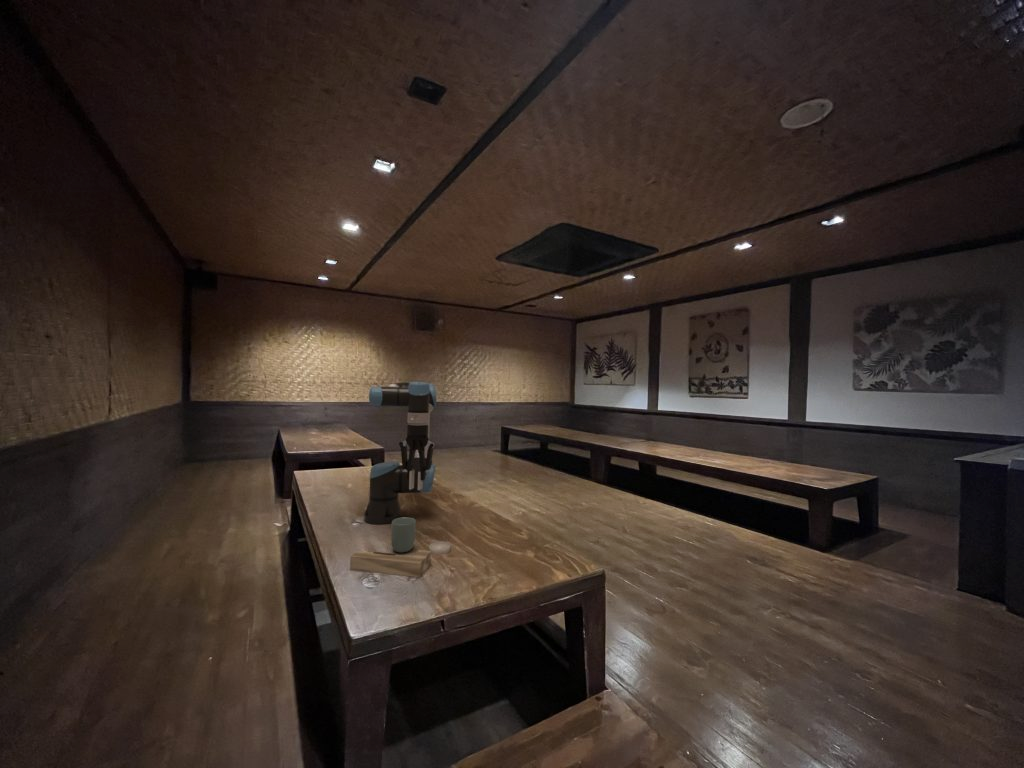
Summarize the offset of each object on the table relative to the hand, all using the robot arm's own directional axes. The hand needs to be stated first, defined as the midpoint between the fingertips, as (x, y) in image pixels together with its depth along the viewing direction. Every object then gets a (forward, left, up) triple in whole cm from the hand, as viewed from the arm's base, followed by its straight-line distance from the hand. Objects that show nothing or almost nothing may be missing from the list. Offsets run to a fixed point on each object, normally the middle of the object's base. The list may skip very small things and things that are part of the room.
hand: (415, 488), depth 143 cm
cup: (+10, 0, -19) cm, 21 cm away
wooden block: (+22, +2, -19) cm, 29 cm away
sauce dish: (+7, +12, -19) cm, 23 cm away
